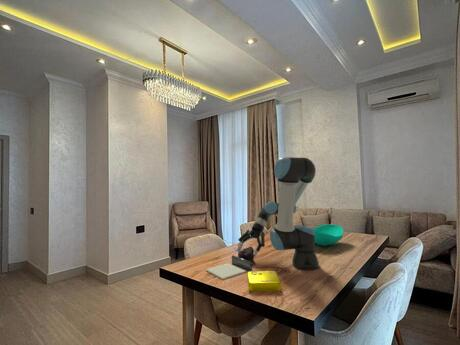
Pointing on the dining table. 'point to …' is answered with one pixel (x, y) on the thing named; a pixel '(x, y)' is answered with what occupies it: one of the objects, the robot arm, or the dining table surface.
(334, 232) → the table top decor
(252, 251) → the rock
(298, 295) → the dining table surface
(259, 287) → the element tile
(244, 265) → the metal rail
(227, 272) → the felt mat
